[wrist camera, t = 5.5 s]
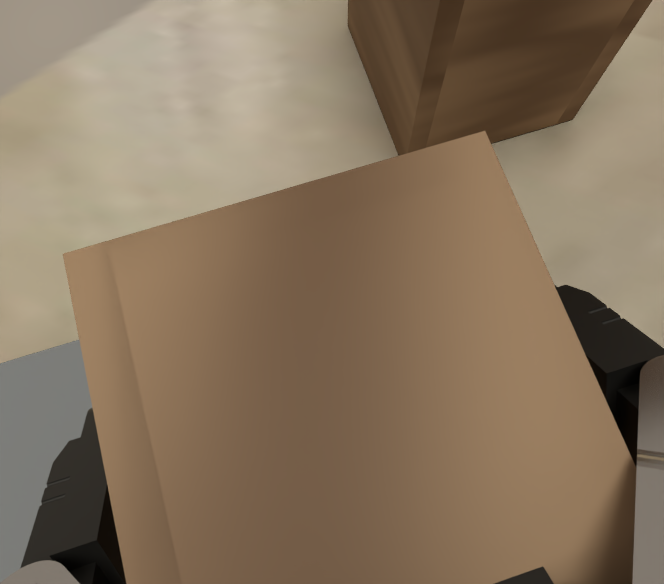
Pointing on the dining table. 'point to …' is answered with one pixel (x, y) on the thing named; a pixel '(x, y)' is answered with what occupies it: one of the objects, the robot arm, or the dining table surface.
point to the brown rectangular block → (351, 389)
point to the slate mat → (35, 436)
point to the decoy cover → (485, 62)
